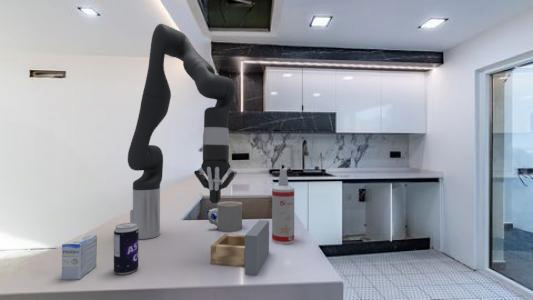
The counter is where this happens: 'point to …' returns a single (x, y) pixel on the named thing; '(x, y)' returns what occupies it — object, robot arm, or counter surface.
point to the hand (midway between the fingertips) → (215, 202)
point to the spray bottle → (283, 211)
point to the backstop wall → (256, 247)
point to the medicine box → (79, 256)
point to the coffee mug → (227, 216)
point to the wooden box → (229, 250)
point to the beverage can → (126, 248)
